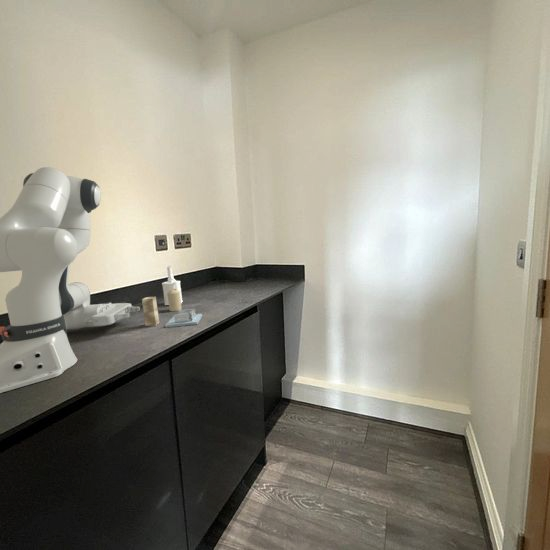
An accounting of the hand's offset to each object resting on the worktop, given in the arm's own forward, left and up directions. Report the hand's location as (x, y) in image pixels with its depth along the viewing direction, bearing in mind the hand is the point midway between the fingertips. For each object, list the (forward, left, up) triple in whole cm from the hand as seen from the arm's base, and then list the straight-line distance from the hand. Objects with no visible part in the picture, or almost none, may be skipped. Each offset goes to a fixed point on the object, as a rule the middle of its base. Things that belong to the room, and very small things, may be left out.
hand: (134, 311), depth 116 cm
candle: (+22, +9, -6) cm, 25 cm away
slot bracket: (+14, -14, -5) cm, 20 cm away
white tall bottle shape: (+29, +22, -6) cm, 37 cm away
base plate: (+13, -13, -6) cm, 20 cm away
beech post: (+4, -4, -6) cm, 9 cm away
